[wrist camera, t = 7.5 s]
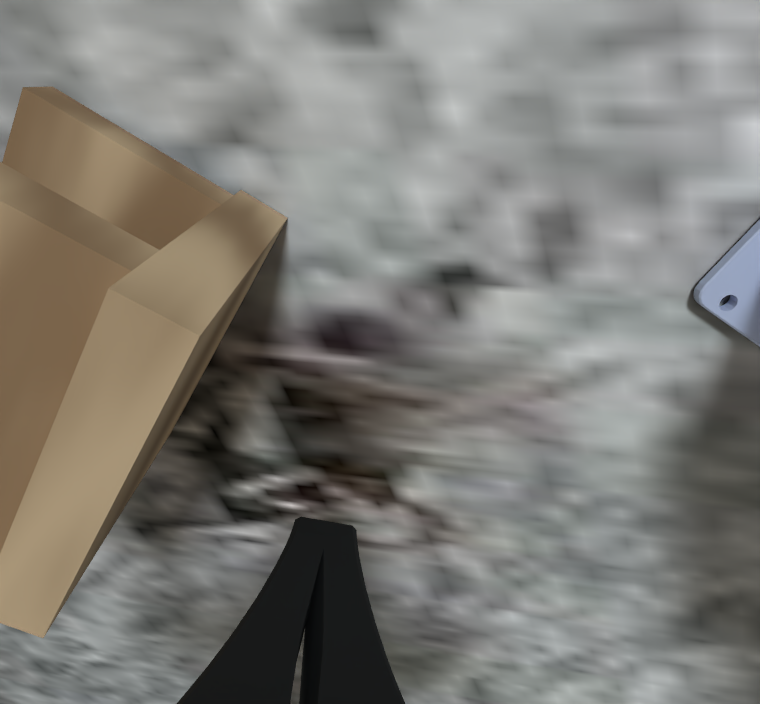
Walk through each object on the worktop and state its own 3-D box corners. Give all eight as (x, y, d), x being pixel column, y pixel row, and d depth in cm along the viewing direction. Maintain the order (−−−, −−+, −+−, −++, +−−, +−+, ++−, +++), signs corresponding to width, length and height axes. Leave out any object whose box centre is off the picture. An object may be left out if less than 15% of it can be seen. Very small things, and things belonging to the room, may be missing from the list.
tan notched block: (69, 86, 14) (287, 218, 15) (-11, 342, 18) (172, 429, 19) (-262, 94, 7) (199, 335, 8) (-284, 522, 10) (43, 638, 12)
